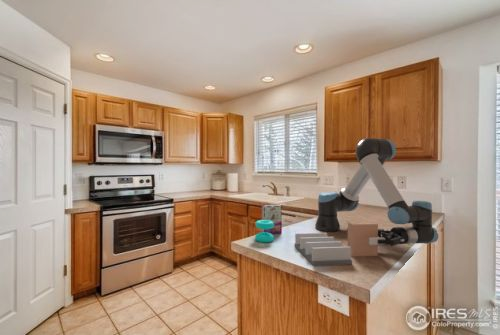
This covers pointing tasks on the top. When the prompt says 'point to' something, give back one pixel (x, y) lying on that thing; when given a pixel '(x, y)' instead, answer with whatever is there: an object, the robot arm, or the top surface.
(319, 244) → the dish rack
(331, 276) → the top surface
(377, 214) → the top surface
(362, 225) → the terracotta tile
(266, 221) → the donuts
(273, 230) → the candy bar box
